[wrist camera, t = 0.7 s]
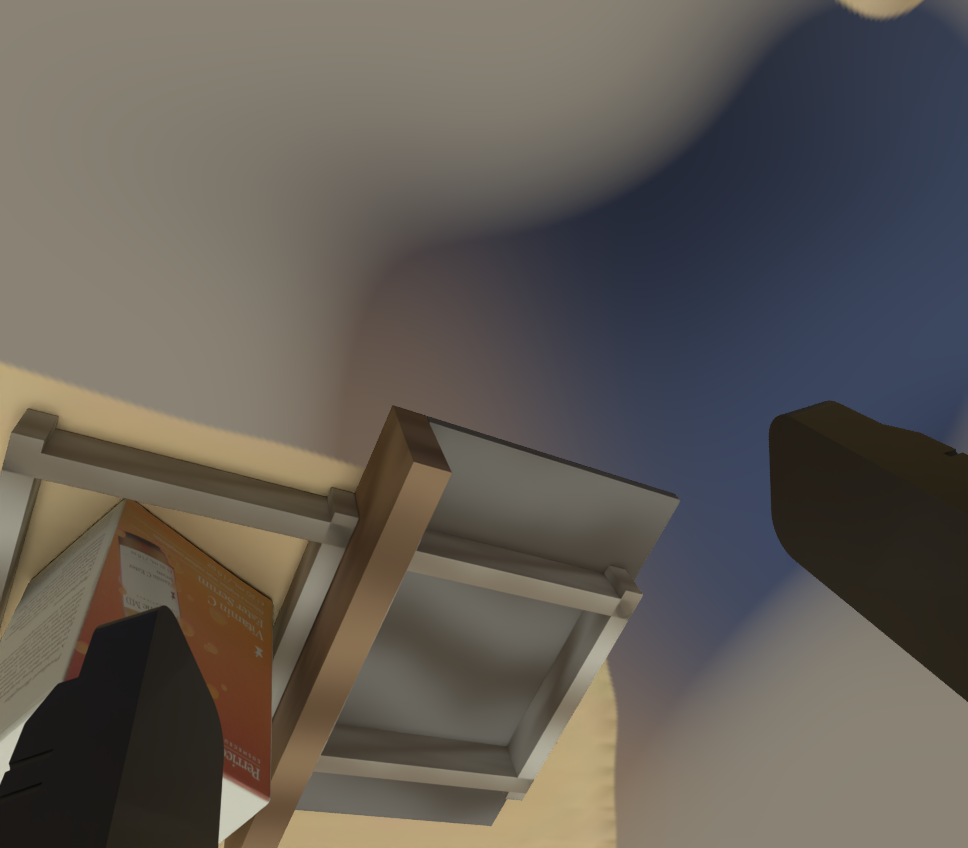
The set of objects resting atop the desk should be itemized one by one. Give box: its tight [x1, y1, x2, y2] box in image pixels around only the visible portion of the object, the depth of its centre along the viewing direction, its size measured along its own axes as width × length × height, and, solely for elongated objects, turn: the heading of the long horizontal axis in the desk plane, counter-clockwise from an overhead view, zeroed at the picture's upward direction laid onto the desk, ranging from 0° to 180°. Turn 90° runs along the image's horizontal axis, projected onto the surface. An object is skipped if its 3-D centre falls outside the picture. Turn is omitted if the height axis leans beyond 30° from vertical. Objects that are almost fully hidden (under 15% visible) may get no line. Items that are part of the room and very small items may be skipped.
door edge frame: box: [0, 406, 680, 848], centre depth 32 cm, size 22×27×5 cm
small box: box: [0, 499, 273, 844], centre depth 27 cm, size 8×6×10 cm
